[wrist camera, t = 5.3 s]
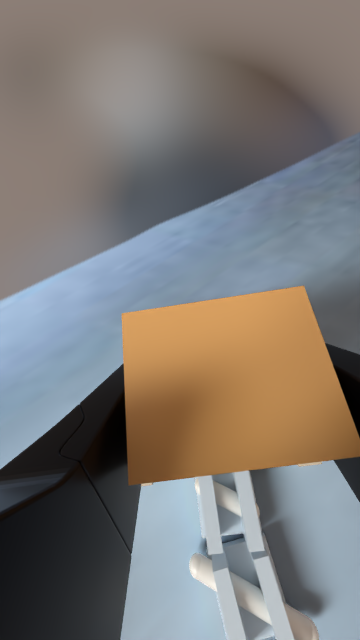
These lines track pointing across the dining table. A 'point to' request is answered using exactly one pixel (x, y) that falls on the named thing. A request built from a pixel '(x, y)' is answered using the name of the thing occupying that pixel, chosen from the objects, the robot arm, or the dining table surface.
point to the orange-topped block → (231, 388)
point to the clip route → (242, 564)
